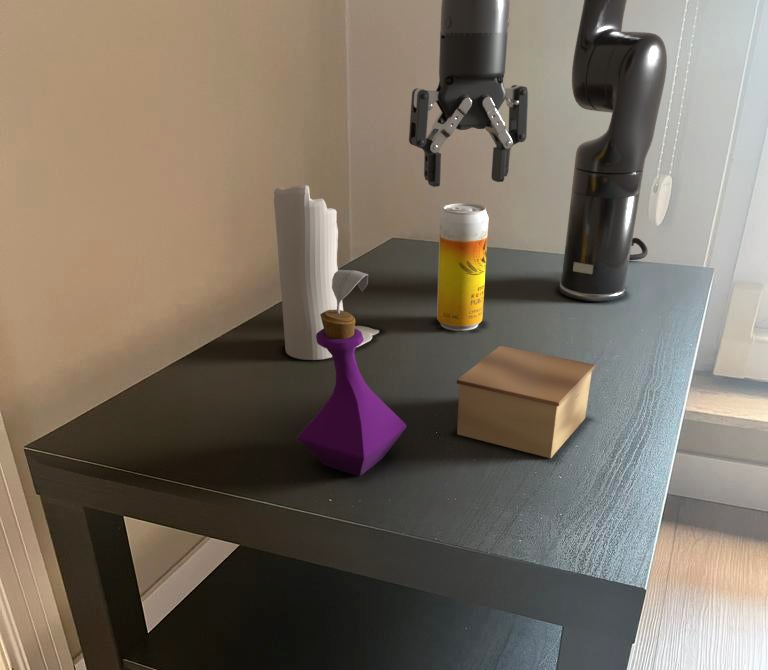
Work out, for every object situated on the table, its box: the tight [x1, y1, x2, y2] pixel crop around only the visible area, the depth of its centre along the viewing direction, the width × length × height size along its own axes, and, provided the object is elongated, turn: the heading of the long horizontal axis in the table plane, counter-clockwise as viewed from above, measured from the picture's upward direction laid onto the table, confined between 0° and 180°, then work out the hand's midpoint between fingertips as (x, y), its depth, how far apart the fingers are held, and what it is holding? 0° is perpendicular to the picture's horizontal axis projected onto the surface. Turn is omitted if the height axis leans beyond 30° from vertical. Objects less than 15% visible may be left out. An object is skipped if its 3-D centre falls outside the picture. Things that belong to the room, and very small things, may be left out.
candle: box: [273, 184, 380, 361], centre depth 97 cm, size 7×14×20 cm, turn 137°
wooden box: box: [456, 345, 596, 459], centre depth 81 cm, size 10×10×6 cm
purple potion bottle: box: [296, 269, 407, 477], centre depth 71 cm, size 8×8×18 cm
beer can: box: [436, 202, 490, 332], centre depth 104 cm, size 6×6×15 cm
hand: (465, 183), depth 98 cm, fingers open, 8 cm apart
